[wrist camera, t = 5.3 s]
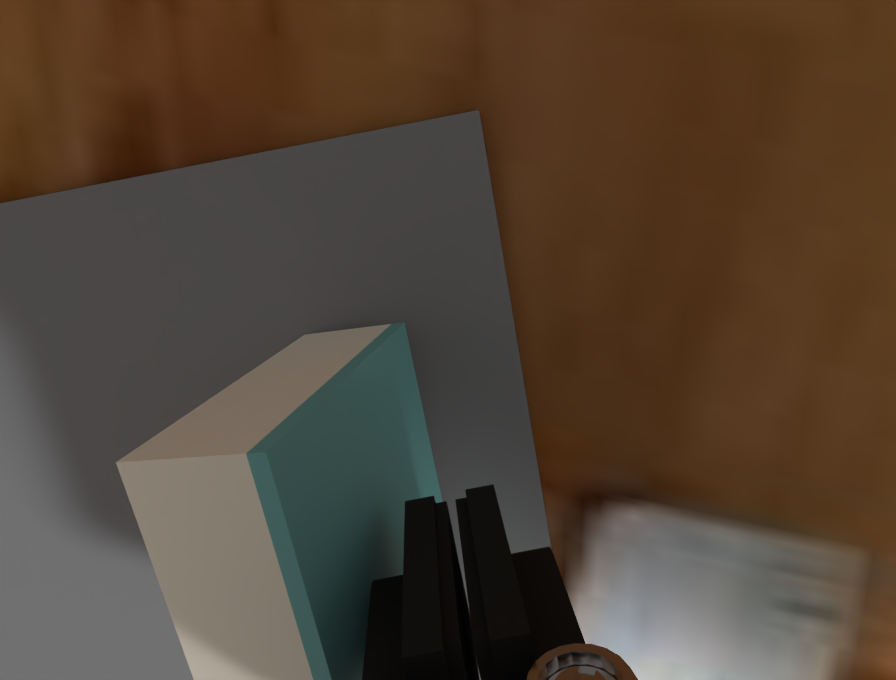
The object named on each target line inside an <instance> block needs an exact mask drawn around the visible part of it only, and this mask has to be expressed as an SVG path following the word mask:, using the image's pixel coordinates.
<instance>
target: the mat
mask: <svg viewBox="0 0 896 680" xmlns="http://www.w3.org/2000/svg"><path fill="white" fill-rule="evenodd" d="M403 322H405V327H406V332H407V336H408V341H409V346H410V351H411V355H412V360H413V365H414V369H415V374H416V379H417V384H418V388H419V393H420V398H421V402H422V407H423V412H424V416H425V421H426V426H427V431H428V435H429V440H430V445H431V449H432V454H433V459H434V464H435V468H436V473H437V478H438V482H439V487H440V492H441V497H442V501H443V502H445V501H446V502H447V505H448V510H449V515H450V520H451V525H452V530H453V534H454V539H455V544H456V549H457V554H458V559H459V564H460V569H461V573H462V578H463V583H464V588H465V593H466V598H467V603H468V596H467V588H466V580H465V572H464V564H463V556H462V548H461V541H460V533H459V525H458V517H457V509H456V501H455V499H460V498H465V497H466V491H465V490H466V489H471V488H476V487H481V486H487V485H492V484H494V488H495V492H496V496H497V500H498V504H499V508H500V512H501V516H502V520H503V524H504V528H505V532H506V536H507V540H508V544H509V548H510V552H511V554H512V553H517V552H523V551H528V550H533V549H538V548H544V547H550V548H551V542H550V536H549V530H548V524H547V518H546V512H545V506H544V500H543V493H542V487H541V481H540V475H539V469H538V463H537V457H536V451H535V445H534V439H533V433H532V427H531V421H530V415H529V409H528V403H527V397H526V390H525V384H524V378H523V372H522V366H521V360H520V354H519V348H518V342H517V336H516V330H515V324H514V318H513V312H512V306H511V300H510V294H509V288H508V281H507V275H506V269H505V263H504V257H503V251H502V245H501V239H500V233H499V227H498V221H497V215H496V209H495V203H494V197H493V191H492V185H491V179H490V172H489V166H488V160H487V154H486V148H485V142H484V136H483V130H482V124H481V118H480V112H479V110H475V111H470V112H465V113H460V114H455V115H450V116H445V117H439V118H434V119H429V120H424V121H419V122H414V123H409V124H404V125H399V126H393V127H388V128H383V129H378V130H373V131H368V132H363V133H358V134H352V135H347V136H342V137H337V138H332V139H327V140H322V141H317V142H312V143H306V144H301V145H296V146H291V147H286V148H281V149H276V150H271V151H265V152H260V153H255V154H250V155H245V156H240V157H235V158H230V159H224V160H219V161H214V162H209V163H204V164H199V165H194V166H189V167H184V168H178V169H173V170H168V171H163V172H158V173H153V174H148V175H143V176H137V177H132V178H127V179H122V180H117V181H112V182H107V183H102V184H97V185H91V186H86V187H81V188H76V189H71V190H66V191H61V192H56V193H50V194H45V195H40V196H35V197H30V198H25V199H20V200H15V201H9V202H4V203H0V680H194V679H193V676H192V674H191V671H190V668H189V665H188V662H187V660H186V657H185V654H184V651H183V648H182V646H181V643H180V640H179V637H178V635H177V632H176V629H175V626H174V623H173V621H172V618H171V615H170V612H169V609H168V607H167V604H166V601H165V598H164V595H163V593H162V590H161V587H160V584H159V582H158V579H157V576H156V573H155V570H154V568H153V565H152V562H151V559H150V556H149V554H148V551H147V548H146V545H145V543H144V540H143V537H142V534H141V531H140V529H139V526H138V523H137V520H136V517H135V515H134V512H133V509H132V506H131V503H130V501H129V498H128V495H127V492H126V490H125V487H124V484H123V481H122V478H121V476H120V473H119V470H118V467H117V464H116V462H117V461H119V460H120V459H122V458H123V457H124V456H126V455H127V454H129V453H130V452H132V451H133V450H135V449H136V448H138V447H139V446H141V445H142V444H144V443H145V442H147V441H148V440H150V439H151V438H153V437H154V436H156V435H157V434H158V433H160V432H161V431H163V430H164V429H166V428H167V427H169V426H170V425H172V424H173V423H175V422H176V421H178V420H179V419H181V418H182V417H184V416H185V415H187V414H188V413H190V412H191V411H193V410H194V409H195V408H197V407H198V406H200V405H201V404H203V403H204V402H206V401H207V400H209V399H210V398H212V397H213V396H215V395H216V394H218V393H219V392H221V391H222V390H224V389H225V388H227V387H228V386H229V385H231V384H232V383H234V382H235V381H237V380H238V379H240V378H241V377H243V376H244V375H246V374H247V373H249V372H250V371H252V370H253V369H255V368H256V367H258V366H259V365H261V364H262V363H264V362H265V361H266V360H268V359H269V358H271V357H272V356H274V355H275V354H277V353H278V352H280V351H281V350H283V349H284V348H286V347H287V346H289V345H290V344H292V343H293V342H295V341H296V340H298V339H299V338H301V337H302V336H303V335H305V334H313V333H321V332H330V331H338V330H346V329H354V328H362V327H370V326H378V325H387V324H395V323H403ZM551 550H552V548H551ZM468 608H469V604H468ZM478 670H479V668H478ZM479 678H480V673H479ZM480 680H481V678H480Z"/></svg>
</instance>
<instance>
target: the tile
mask: <svg viewBox="0 0 896 680" xmlns="http://www.w3.org/2000/svg"><path fill="white" fill-rule="evenodd" d="M116 464H117V467H118V470H119V473H120V476H121V478H122V481H123V484H124V487H125V490H126V492H127V495H128V498H129V501H130V503H131V506H132V509H133V512H134V515H135V517H136V520H137V523H138V526H139V529H140V531H141V534H142V537H143V540H144V543H145V545H146V548H147V551H148V554H149V556H150V559H151V562H152V565H153V568H154V570H155V573H156V576H157V579H158V582H159V584H160V587H161V590H162V593H163V595H164V598H165V601H166V604H167V607H168V609H169V612H170V615H171V618H172V621H173V623H174V626H175V629H176V632H177V635H178V637H179V640H180V643H181V646H182V648H183V651H184V654H185V657H186V660H187V662H188V665H189V668H190V671H191V674H192V676H193V679H194V680H362V674H363V664H364V654H365V644H366V633H367V623H368V613H369V603H370V593H371V585H372V582H373V580H377V579H382V578H387V577H392V576H397V575H403V559H404V517H405V501H408V500H413V499H419V498H424V497H429V496H434V497H435V501H436V503H439V502H443V501H442V497H441V492H440V487H439V482H438V478H437V473H436V468H435V464H434V459H433V454H432V449H431V445H430V440H429V435H428V431H427V426H426V421H425V416H424V412H423V407H422V402H421V398H420V393H419V388H418V384H417V379H416V374H415V369H414V365H413V360H412V355H411V351H410V346H409V341H408V336H407V332H406V327H405V322H403V323H395V324H387V325H378V326H370V327H362V328H354V329H346V330H338V331H330V332H321V333H313V334H305V335H303V336H302V337H301V338H299V339H298V340H296V341H295V342H293V343H292V344H290V345H289V346H287V347H286V348H284V349H283V350H281V351H280V352H278V353H277V354H275V355H274V356H272V357H271V358H269V359H268V360H266V361H265V362H264V363H262V364H261V365H259V366H258V367H256V368H255V369H253V370H252V371H250V372H249V373H247V374H246V375H244V376H243V377H241V378H240V379H238V380H237V381H235V382H234V383H232V384H231V385H229V386H228V387H227V388H225V389H224V390H222V391H221V392H219V393H218V394H216V395H215V396H213V397H212V398H210V399H209V400H207V401H206V402H204V403H203V404H201V405H200V406H198V407H197V408H195V409H194V410H193V411H191V412H190V413H188V414H187V415H185V416H184V417H182V418H181V419H179V420H178V421H176V422H175V423H173V424H172V425H170V426H169V427H167V428H166V429H164V430H163V431H161V432H160V433H158V434H157V435H156V436H154V437H153V438H151V439H150V440H148V441H147V442H145V443H144V444H142V445H141V446H139V447H138V448H136V449H135V450H133V451H132V452H130V453H129V454H127V455H126V456H124V457H123V458H122V459H120V460H119V461H117V462H116Z"/></svg>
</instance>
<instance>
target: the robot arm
mask: <svg viewBox="0 0 896 680" xmlns="http://www.w3.org/2000/svg"><path fill="white" fill-rule="evenodd" d="M465 491H466V497H465V498H460V499H455V501H456V509H457V517H458V525H459V533H460V541H461V548H462V556H463V564H464V572H465V580H466V588H467V596H468V603H467V598H466V593H465V588H464V583H463V578H462V573H461V569H460V564H459V559H458V554H457V549H456V544H455V539H454V534H453V530H452V525H451V520H450V515H449V510H448V505H447V502H446V501H445V502H439V503H436V501H435V497H434V496H429V497H424V498H419V499H413V500H408V501H405V517H404V559H403V575H397V576H392V577H387V578H382V579H377V580H373V582H372V585H371V593H370V603H369V613H368V623H367V633H366V644H365V654H364V664H363V674H362V680H480V678H481V680H638V679H637V677H636V676H635V674H634V673H633V671H632V670H631V668H630V667H629V666H628V665H627V664H626V662H625V661H624V660H623V659H622V658H621V657H620V656H619V655H617V654H615V653H614V652H612V651H610V650H608V649H607V648H604V647H600V646H597V645H593V644H585V641H584V639H583V636H582V633H581V630H580V628H579V625H578V622H577V619H576V616H575V614H574V611H573V608H572V605H571V602H570V600H569V597H568V594H567V591H566V589H565V586H564V583H563V580H562V577H561V575H560V572H559V569H558V566H557V563H556V561H555V558H554V555H553V552H552V550H551V548H550V547H544V548H538V549H533V550H528V551H523V552H517V553H512V554H511V552H510V548H509V544H508V540H507V536H506V532H505V528H504V524H503V520H502V516H501V512H500V508H499V504H498V500H497V496H496V492H495V488H494V484H492V485H487V486H481V487H476V488H471V489H466V490H465ZM468 604H469V608H468ZM478 668H479V670H478ZM479 673H480V678H479Z"/></svg>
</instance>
